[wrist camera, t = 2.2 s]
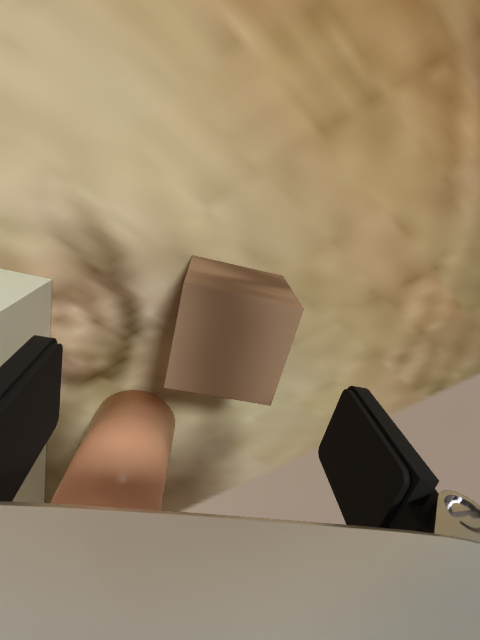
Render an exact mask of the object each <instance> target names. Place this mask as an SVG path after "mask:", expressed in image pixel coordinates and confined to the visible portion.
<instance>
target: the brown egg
mask: <svg viewBox="0 0 480 640" xmlns="http://www.w3.org/2000/svg"><path fill="white" fill-rule="evenodd" d="M174 430H175V418H174V415H173V412H172V410H171V409H170V407H169V406H168V405H167V404H166V403H165V402H164V401H163V400H162V399H160V398H159V397H157V396H155V395H153V394H151V393H148V392H144V391H137V390H129V391H122V392H119V393H116V394H114V395H111V396H110V397H108V398H107V399H106V400H105V401H103V403H102V404H101V405H100V407H99V408H98V410H97V412H96V414H95V416H94V418H93V420H92V422H91V424H90V426H89V428H88V430H87V432H86V434H85V436H84V438H83V440H82V442H81V444H80V445H79V447H78V449H77V451H76V453H75V455H74V457H73V459H72V461H71V463H70V465H69V467H68V469H67V471H66V473H65V475H64V477H63V479H62V481H61V483H60V485H59V486H58V488H57V490H56V492H55V494H54V496H53V498H52V500H51V502H50V503H54V504H71V505H87V506H101V507H116V508H130V509H144V510H159V511H161V506H162V500H163V494H164V488H165V482H166V477H167V471H168V465H169V459H170V453H171V447H172V441H173V435H174Z"/></svg>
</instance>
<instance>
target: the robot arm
mask: <svg viewBox="0 0 480 640" xmlns="http://www.w3.org/2000/svg"><path fill="white" fill-rule="evenodd" d="M62 351H63V347H62V344H57V341H56V339H55V338H50V337H44V336H38V335H34V336H32V337H31V338H30V339H29V340H28V341H27V342H26V343H25V344H24V345H23V346H22V347H21V348H20V349H19V350H17V351H16V352H15V353H14V354H13V355H12V356H11V357H10V358H9V359H8V360H7V361H6V362H5V363H4V364H3V365H2V366H0V640H480V506H479V505H478V504H476V503H475V502H474V501H472V500H470V499H469V498H468V497H466V496H464V495H462V494H460V493H457V492H454V491H448V490H447V491H445V490H444V491H442V492H440V493H439V494H438V492H437V491H436V490H435V487H436V485H437V484H438V482H439V480H438V479H437V478H436V476H435V475H434V474H433V473H432V471H431V470H430V469H429V467H428V466H427V465H426V463H425V462H424V461H423V460H422V458H421V457H420V456H419V455H418V453H417V452H416V451H415V449H414V448H413V447H412V445H411V444H410V443H409V442H408V440H407V439H406V438H405V436H404V435H403V434H402V432H401V431H400V430H399V429H398V427H397V426H396V425H395V423H394V422H393V421H392V420H391V418H390V417H389V416H388V414H387V413H386V412H385V410H384V409H383V408H382V407H381V405H380V404H379V403H378V401H377V400H376V399H375V397H374V396H373V395H372V394H371V392H370V391H369V390H368V389H366V388H361V387H355V386H350V387H349V388H348V389H345V390H344V391H343V392H342V394H341V397H340V399H339V401H338V404H337V406H336V408H335V411H334V413H333V415H332V418H331V420H330V423H329V425H328V427H327V430H326V432H325V434H324V437H323V439H322V441H321V444H320V446H319V451H318V454H319V459H320V461H321V463H322V466H323V468H324V471H325V473H326V476H327V478H328V481H329V483H330V485H331V488H332V490H333V493H334V495H335V498H336V500H337V502H338V505H339V507H340V510H341V512H342V515H343V517H344V520H345V522H346V524H347V525H341V524H329V523H317V522H305V521H291V520H279V519H267V518H254V517H240V516H227V515H214V514H200V513H187V512H173V511H159V510H144V509H130V508H116V507H101V506H87V505H71V504H54V503H36V502H12V501H13V499H14V497H15V496H16V494H17V492H18V491H19V489H20V487H21V485H22V484H23V482H24V480H25V479H26V477H27V475H28V473H29V472H30V470H31V468H32V467H33V465H34V463H35V461H36V460H37V458H38V456H39V455H40V453H41V451H42V450H43V448H44V446H45V444H46V443H47V441H48V439H49V438H50V436H51V434H52V432H53V431H54V429H55V427H56V425H57V422H58V418H59V406H60V388H61V370H62Z"/></svg>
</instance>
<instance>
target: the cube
mask: <svg viewBox="0 0 480 640" xmlns="http://www.w3.org/2000/svg"><path fill="white" fill-rule="evenodd" d="M303 309H304V308H303V307H302V305H301V303H300V302H299V300H298V299H297V297H296V296H295V294H294V293H293V291H292V290H291V288H290V287H289V285H288V283H287V282H286V280H285V279H284V277H283V276H281V275H276V274H272V273H268V272H263V271H259V270H254V269H250V268H246V267H241V266H237V265H233V264H228V263H224V262H220V261H215V260H211V259H206V258H202V257H198V256H193V255H192V258H191V261H190V264H189V268H188V271H187V274H186V277H185V280H184V284H183V289H182V294H181V299H180V305H179V310H178V315H177V320H176V326H175V331H174V336H173V342H172V347H171V352H170V357H169V363H168V368H167V373H166V378H165V384H164V388H169V389H175V390H181V391H187V392H193V393H198V394H204V395H210V396H216V397H222V398H228V399H234V400H240V401H246V402H252V403H258V404H264V405H270V406H271V403H272V400H273V397H274V394H275V391H276V388H277V386H278V383H279V380H280V377H281V374H282V371H283V368H284V365H285V362H286V359H287V356H288V353H289V350H290V347H291V345H292V342H293V339H294V336H295V333H296V330H297V327H298V324H299V321H300V318H301V315H302V312H303Z"/></svg>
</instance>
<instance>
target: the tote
mask: <svg viewBox="0 0 480 640" xmlns="http://www.w3.org/2000/svg"><path fill="white" fill-rule="evenodd" d="M51 297H52V279H48V278H43V277H38V276H33V275H29V274H24V273H19V272H14V271H9V270H4V269H0V366H2V365H3V364H4V363H5V362H6V361H7V360H8V359H9V358H10V357H11V356H12V355H13V354H14V353H15V352H16V351H17V350H19V349H20V348H21V347H22V346H23V345H24V344H25V343H26V342H27V341H28V340H29V339H30V338H31V337H32V336H34V335H38V336H44V337H50V326H51ZM45 469H46V444H45V446H44V448H43V450H42V451H41V453H40V455H39V456H38V458H37V460H36V461H35V463H34V465H33V467H32V468H31V470H30V472H29V473H28V475H27V477H26V479H25V480H24V482H23V484H22V485H21V487H20V489H19V491H18V492H17V494H16V496H15V497H14V499H13V501H12V502H36V503H44V498H45Z"/></svg>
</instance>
